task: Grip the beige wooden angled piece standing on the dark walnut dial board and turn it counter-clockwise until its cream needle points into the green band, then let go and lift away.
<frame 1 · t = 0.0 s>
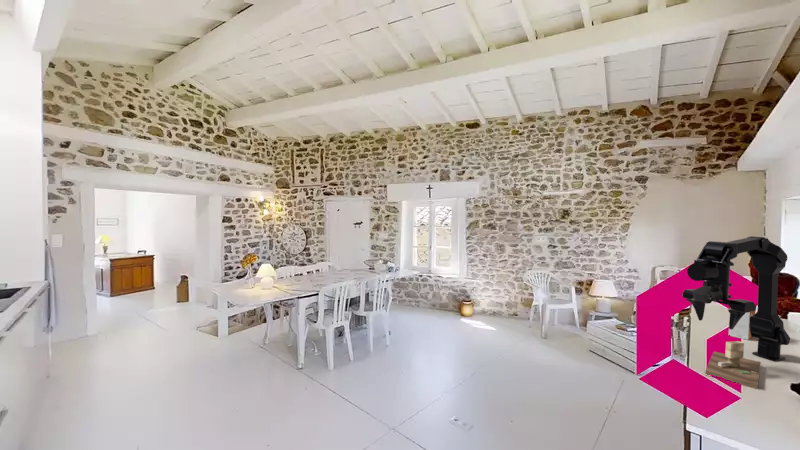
hand: (715, 324, 121), 15 cm above the counter, tool pointing down, fingers open, 9 cm apart
beige wooden angled piece: (730, 354, 118), point 6 cm above the counter, hinge at -35.0°
small box: (741, 336, 150), on the counter
dial board: (733, 370, 119), on the counter
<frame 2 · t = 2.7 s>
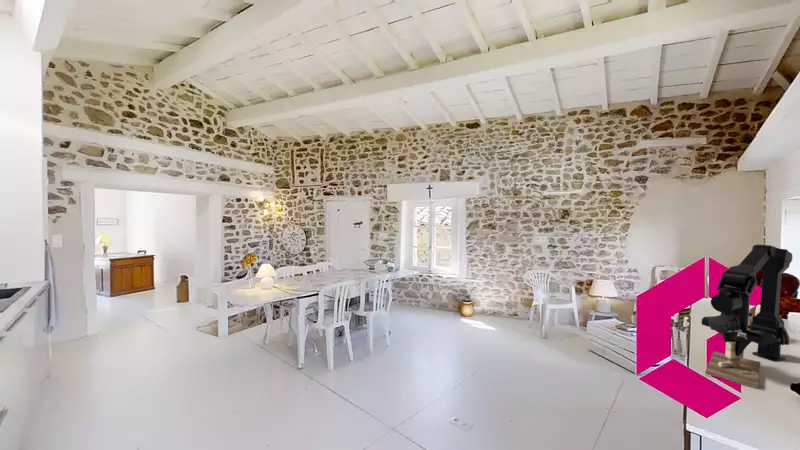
hand: (734, 354, 118), 6 cm above the counter, tool pointing down, fingers closed on beige wooden angled piece, 2 cm apart
beige wooden angled piece: (730, 354, 118), point 6 cm above the counter, hinge at -35.0°, touching gripper
everything else where it was.
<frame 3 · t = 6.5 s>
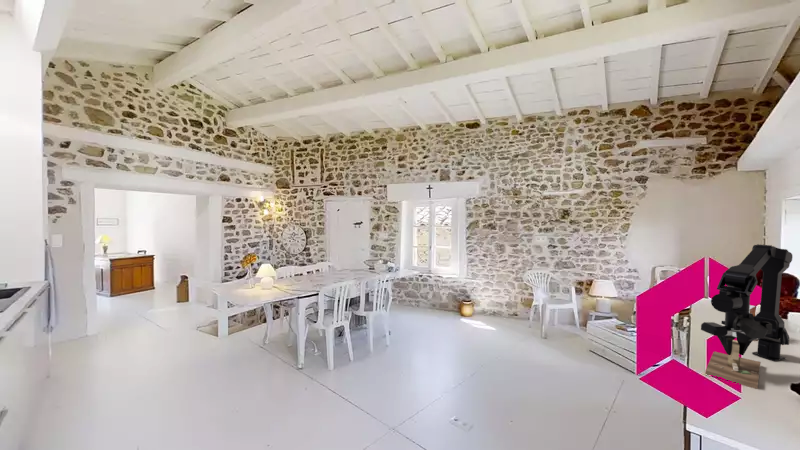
hand: (734, 354, 118), 6 cm above the counter, tool pointing down, fingers closed on beige wooden angled piece, 4 cm apart
beige wooden angled piece: (734, 355, 117), point 6 cm above the counter, hinge at 9.2°, touching gripper
everything else where it was.
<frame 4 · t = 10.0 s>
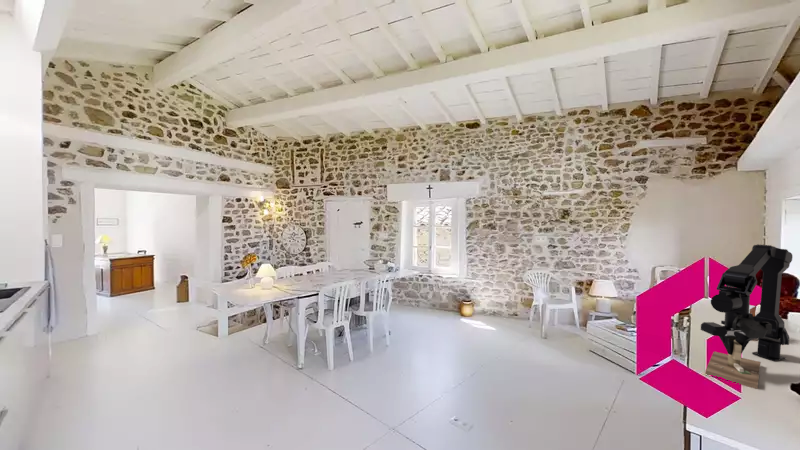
hand: (734, 354, 118), 6 cm above the counter, tool pointing down, fingers closed on beige wooden angled piece, 2 cm apart
beige wooden angled piece: (736, 355, 117), point 6 cm above the counter, hinge at 22.8°, touching gripper
everything else where it was.
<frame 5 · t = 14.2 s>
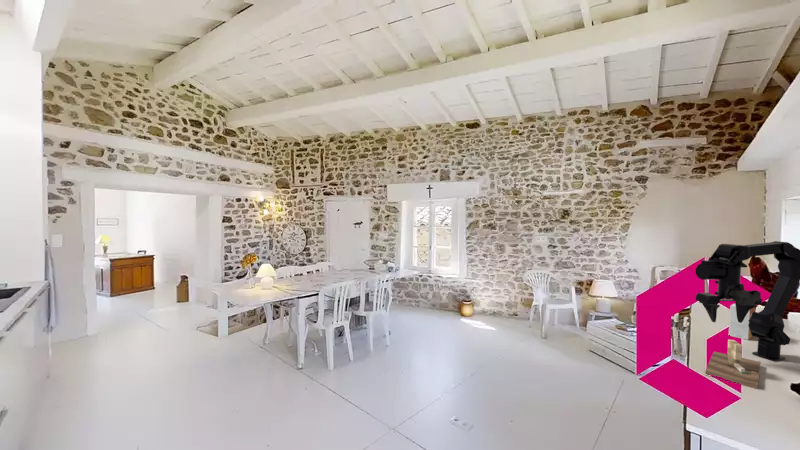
hand: (726, 322, 128), 13 cm above the counter, tool pointing down, fingers open, 9 cm apart
beige wooden angled piece: (736, 356, 117), point 6 cm above the counter, hinge at 26.6°
everything else where it was.
at the end: beige wooden angled piece at +27° (first picture: -35°); the gripper is holding nothing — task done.
